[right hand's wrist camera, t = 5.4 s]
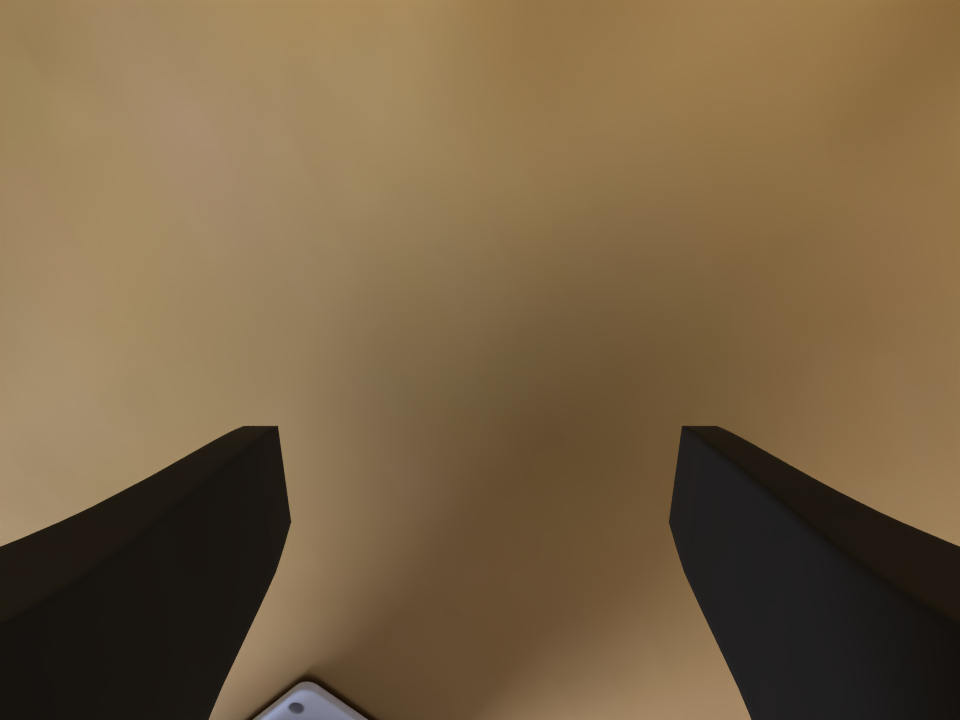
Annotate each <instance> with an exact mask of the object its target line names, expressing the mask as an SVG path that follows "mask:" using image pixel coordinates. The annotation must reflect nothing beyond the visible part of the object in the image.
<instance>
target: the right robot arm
mask: <svg viewBox="0 0 960 720" xmlns="http://www.w3.org/2000/svg"><path fill="white" fill-rule="evenodd" d="M290 524H291V518H290V511H289V504H288V496H287V489H286V482H285V474H284V467H283V460H282V453H281V445H280V438H279V431H278V426H243V427H240V428H238V429H235V430H233V431H231V432H229V433H227V434H225V435H223V436H221V437H220V438H218V439H216V440H214V441H212V442H210V443H209V444H207V445H205V446H203V447H202V448H200V449H198V450H196V451H195V452H193V453H191V454H189V455H187V456H186V457H184V458H182V459H180V460H179V461H177V462H175V463H173V464H172V465H170V466H168V467H166V468H164V469H163V470H161V471H159V472H157V473H156V474H154V475H152V476H150V477H148V478H146V479H145V480H143V481H141V482H139V483H137V484H135V485H133V486H131V487H129V488H127V489H125V490H123V491H122V492H120V493H118V494H116V495H114V496H112V497H110V498H108V499H106V500H104V501H102V502H100V503H99V504H97V505H95V506H93V507H91V508H89V509H86V510H84V511H82V512H80V513H78V514H76V515H74V516H72V517H69V518H67V519H65V520H63V521H61V522H59V523H56V524H54V525H51V526H49V527H47V528H44V529H42V530H40V531H37V532H35V533H33V534H30V535H28V536H26V537H23V538H21V539H19V540H16V541H14V542H11V543H9V544H6V545H4V546H1V547H0V720H209V717H210V714H211V712H212V710H213V707H214V705H215V703H216V700H217V698H218V695H219V693H220V691H221V688H222V686H223V684H224V682H225V680H226V678H227V675H228V673H229V671H230V669H231V667H232V665H233V663H234V661H235V658H236V656H237V654H238V652H239V650H240V648H241V646H242V644H243V642H244V639H245V637H246V635H247V633H248V631H249V629H250V627H251V625H252V622H253V620H254V618H255V616H256V614H257V612H258V610H259V608H260V605H261V603H262V601H263V599H264V597H265V595H266V592H267V590H268V588H269V586H270V584H271V581H272V579H273V577H274V575H275V573H276V570H277V567H278V564H279V561H280V558H281V554H282V551H283V548H284V545H285V541H286V538H287V534H288V531H289V527H290ZM669 524H670V527H671V531H672V534H673V538H674V541H675V545H676V548H677V551H678V554H679V558H680V561H681V564H682V567H683V570H684V573H685V575H686V577H687V579H688V581H689V584H690V586H691V588H692V590H693V592H694V595H695V597H696V599H697V601H698V603H699V605H700V608H701V610H702V612H703V614H704V616H705V618H706V620H707V622H708V625H709V627H710V629H711V631H712V633H713V635H714V637H715V639H716V642H717V644H718V646H719V648H720V650H721V652H722V654H723V656H724V658H725V661H726V663H727V665H728V667H729V669H730V671H731V673H732V675H733V678H734V680H735V682H736V684H737V686H738V688H739V691H740V693H741V695H742V698H743V700H744V703H745V705H746V707H747V710H748V712H749V714H750V717H751V720H960V546H957V545H954V544H952V543H949V542H947V541H945V540H942V539H940V538H938V537H935V536H933V535H930V534H928V533H926V532H923V531H921V530H919V529H916V528H914V527H912V526H909V525H907V524H904V523H902V522H900V521H898V520H896V519H893V518H891V517H889V516H887V515H885V514H882V513H880V512H878V511H876V510H874V509H872V508H870V507H868V506H866V505H864V504H862V503H860V502H858V501H856V500H854V499H852V498H850V497H848V496H846V495H844V494H842V493H840V492H838V491H836V490H834V489H833V488H831V487H829V486H827V485H825V484H823V483H821V482H819V481H818V480H816V479H814V478H812V477H810V476H808V475H807V474H805V473H803V472H801V471H799V470H798V469H796V468H794V467H792V466H790V465H789V464H787V463H785V462H783V461H782V460H780V459H778V458H776V457H775V456H773V455H771V454H769V453H768V452H766V451H764V450H762V449H761V448H759V447H757V446H755V445H754V444H752V443H750V442H748V441H746V440H744V439H743V438H741V437H739V436H737V435H735V434H733V433H731V432H729V431H727V430H725V429H722V428H720V427H718V426H682V431H681V438H680V445H679V453H678V460H677V467H676V474H675V482H674V489H673V496H672V504H671V511H670V518H669ZM253 720H368V719H366V718H365V717H363V716H362V715H360V714H359V713H358V712H356V711H355V710H353V709H352V708H350V707H349V706H347V705H346V704H344V703H343V702H342V701H340V700H339V699H337V698H336V697H334V696H333V695H331V694H330V693H328V692H327V691H326V690H324V689H323V688H321V687H320V686H318V685H317V684H315V683H313V682H308V681H307V682H301V683H299V684H297V685H296V686H295V687H293V688H292V689H291V690H290V691H288V692H287V693H286V694H285V695H283V696H282V697H281V698H279V699H278V700H277V701H276V702H274V703H273V704H272V705H271V706H269V707H268V708H267V709H266V710H264V711H263V712H262V713H261V714H259V715H258V716H257V717H255V718H254V719H253Z"/></svg>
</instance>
